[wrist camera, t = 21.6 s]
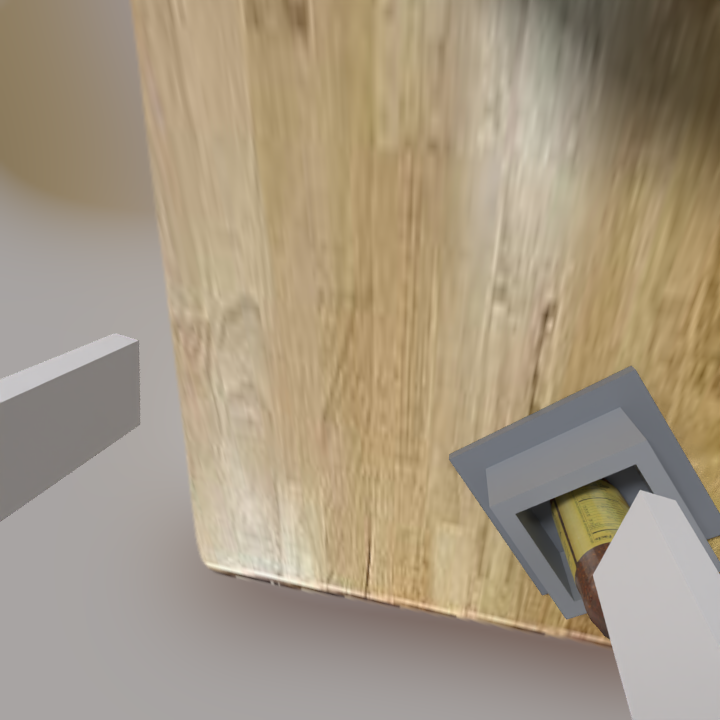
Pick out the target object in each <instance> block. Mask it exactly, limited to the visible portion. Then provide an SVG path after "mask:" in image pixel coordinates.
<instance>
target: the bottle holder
mask: <svg viewBox="0 0 720 720" xmlns="http://www.w3.org/2000/svg"><path fill="white" fill-rule="evenodd" d="M449 460H450V462H451V463H452V464H453V466H454V467H455V469H456V470H457V472H458V473H459V475H460V476H461V478H462V479H463V480H464V482H465V483H466V485H467V486H468V488H469V489H470V491H471V492H472V494H473V495H474V496H475V498H476V499H477V501H478V502H479V504H480V505H481V507H482V508H483V510H484V511H485V512H486V514H487V515H488V517H489V518H490V520H491V521H492V523H493V524H494V526H495V527H496V529H497V530H498V531H499V533H500V534H501V536H502V537H503V539H504V540H505V542H506V543H507V545H508V546H509V547H510V549H511V550H512V552H513V553H514V555H515V556H516V558H517V559H518V561H519V562H520V563H521V565H522V566H523V568H524V569H525V571H526V572H527V574H528V575H529V577H530V578H531V579H532V581H533V582H534V584H535V585H536V587H537V588H538V590H539V591H540V593H541V594H542V595H545V594H548V593H549V595H550V596H551V598H552V599H553V601H554V602H555V604H556V605H557V607H558V608H559V609H560V611H561V612H562V614H563V615H564V617H565V618H566V619H570V618H573V617H576V616H579V615H582V614H586V613H587V611H586V609H585V606H584V603H583V600H582V597H581V594H580V593H579V591H578V589H577V587H576V584H575V581H574V578H573V576H572V573H571V570H570V567H569V564H568V561H567V558H566V555H565V552H564V549H563V546H562V543H561V541H560V538H559V535H558V532H557V529H556V526H555V523H554V520H553V517H552V511H551V504H550V499H553V498H555V497H558V496H560V495H562V494H565V493H567V492H570V491H572V490H575V489H577V488H579V487H582V486H584V485H587V484H589V483H592V482H594V481H596V480H599V479H601V478H605V479H606V480H608V481H609V482H610V483H611V484H612V485H613V486H614V487H615V488H617V489H618V490H619V492H620V493H621V494H622V496H623V497H624V499H625V501H626V502H627V504H628V505H629V507H631V505H632V503H633V501H634V500H635V498H636V496H637V494H638V492H639V491H640V490H642V491H646V492H649V493H652V494H656V495H659V496H662V497H666V498H669V499H672V500H676V502H677V504H678V505H679V507H680V509H681V510H682V512H683V514H684V515H685V517H686V519H687V520H688V522H689V524H690V525H691V527H692V529H693V530H694V532H695V534H696V535H697V537H698V539H699V540H700V542H701V544H702V545H703V547H704V549H705V550H706V552H707V554H708V556H709V557H710V559H711V561H712V562H713V564H714V566H715V567H716V569H717V571H718V572H720V562H719V560H718V558H717V557H716V555H715V553H714V552H713V550H712V548H711V547H710V545H709V543H708V541H707V539H710V538H713V537H716V536H719V535H720V513H719V512H718V510H717V508H716V506H715V505H714V503H713V501H712V500H711V498H710V496H709V494H708V493H707V491H706V489H705V488H704V486H703V484H702V483H701V481H700V479H699V477H698V476H697V474H696V472H695V471H694V469H693V467H692V465H691V464H690V462H689V460H688V459H687V457H686V455H685V453H684V452H683V450H682V448H681V447H680V445H679V443H678V442H677V440H676V438H675V436H674V435H673V433H672V431H671V430H670V428H669V426H668V424H667V423H666V421H665V419H664V418H663V416H662V414H661V412H660V411H659V409H658V407H657V406H656V404H655V402H654V400H653V399H652V397H651V395H650V394H649V392H648V390H647V389H646V387H645V385H644V383H643V382H642V380H641V378H640V377H639V375H638V373H637V371H636V370H635V369H634V368H633V367H632V366H630V367H628V368H626V369H624V370H621V371H619V372H617V373H615V374H613V375H611V376H609V377H607V378H605V379H603V380H601V381H599V382H597V383H595V384H593V385H591V386H589V387H587V388H585V389H582V390H580V391H578V392H576V393H574V394H572V395H570V396H568V397H566V398H564V399H562V400H560V401H558V402H556V403H554V404H552V405H550V406H548V407H546V408H543V409H541V410H539V411H537V412H535V413H533V414H531V415H529V416H527V417H525V418H523V419H521V420H519V421H517V422H515V423H513V424H511V425H509V426H507V427H505V428H502V429H500V430H498V431H496V432H494V433H492V434H490V435H488V436H486V437H484V438H482V439H480V440H478V441H476V442H474V443H472V444H470V445H468V446H466V447H463V448H461V449H459V450H457V451H455V452H453V453H451V454H449Z"/></svg>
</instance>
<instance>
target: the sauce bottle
mask: <svg viewBox="0 0 720 720" xmlns="http://www.w3.org/2000/svg"><path fill="white" fill-rule="evenodd" d="M550 504H551V511H552V517H553V520H554V523H555V526H556V529H557V532H558V535H559V538H560V541H561V543H562V546H563V549H564V552H565V555H566V558H567V561H568V564H569V567H570V570H571V573H572V576H573V578H574V581H575V584H576V587H577V589H578V591H579V593H580V594H581V597H582V600H583V603H584V606H585V609H586V611H587V613H588V615H589V617H590V619H591V621H592V622H593V623H594V624H595V625H596V626H597V627H598V628H599V629H600V631H601V632H602V633H603V635H604V636H606V637H607V638H609V639H610V637H609V633H608V629H607V626H606V622H605V618H604V615H603V611H602V607H601V604H600V600H599V596H598V592H597V589H596V585H595V581H594V578H593V574H594V572H595V570H596V568H597V567H598V565H599V563H600V561H601V559H602V558H603V556H604V554H605V552H606V550H607V548H608V547H609V545H610V543H611V541H612V539H613V538H614V536H615V534H616V532H617V530H618V529H619V527H620V525H621V523H622V521H623V520H624V518H625V516H626V514H627V512H628V511H629V509H630V507H629V505H628V504H627V502H626V501H625V499H624V497H623V496H622V494H621V493H620V492H619V490H618V489H617V488H615V487H614V486H613V485H612V484H611V483H610V482H609V481H608V480H606V479H605V478H601V479H599V480H596V481H594V482H592V483H589V484H587V485H584V486H582V487H579V488H577V489H575V490H572V491H570V492H567V493H565V494H562V495H560V496H558V497H555V498H553V499H550Z"/></svg>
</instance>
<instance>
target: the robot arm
mask: <svg viewBox="0 0 720 720" xmlns="http://www.w3.org/2000/svg"><path fill="white" fill-rule="evenodd" d="M139 378H140V377H139V340H136V339H133V338H130V337H126V336H123V335H119V334H116V333H114V334H112V335H109V336H107V337H104V338H102V339H99V340H97V341H94V342H92V343H89V344H87V345H85V346H82V347H79V348H77V349H74V350H72V351H69V352H67V353H65V354H62V355H59V356H58V357H54V358H52V359H50V360H47V361H45V362H42V363H40V364H37V365H35V366H32V367H30V368H27V369H25V370H23V371H20V372H17V373H15V374H12V375H10V376H7V377H5V378H3V379H0V521H2V520H3V519H5V518H6V517H8V516H9V515H11V514H12V513H13V512H15V511H16V510H18V509H19V508H21V507H22V506H24V505H25V504H26V503H28V502H29V501H31V500H32V499H34V498H35V497H37V496H38V495H39V494H41V493H42V492H43V491H45V490H46V489H48V488H49V487H51V486H52V485H54V484H55V483H57V482H58V481H59V480H61V479H62V478H64V477H65V476H66V475H68V474H70V473H71V472H72V471H74V470H75V469H77V468H78V467H80V466H81V465H83V464H84V463H85V462H87V461H88V460H89V459H91V458H93V457H94V456H96V455H97V454H98V453H100V452H101V451H102V450H104V449H106V448H107V447H108V446H110V445H111V444H113V443H114V442H116V441H117V440H118V439H120V438H121V437H123V436H124V435H126V434H127V433H128V432H130V431H131V430H133V429H134V428H135V427H137V426H139V425H140V379H139ZM593 578H594V581H595V585H596V589H597V592H598V596H599V600H600V604H601V607H602V611H603V615H604V618H605V622H606V626H607V629H608V633H609V637H610V640H611V644H612V648H613V651H614V655H615V659H616V662H617V666H618V670H619V674H620V677H621V680H622V684H623V688H624V692H625V696H626V699H627V703H628V707H629V710H630V714H631V718H632V720H720V574H719V572H718V571H717V569H716V567H715V566H714V564H713V562H712V561H711V559H710V557H709V556H708V554H707V552H706V550H705V549H704V547H703V545H702V544H701V542H700V540H699V539H698V537H697V535H696V534H695V532H694V530H693V529H692V527H691V525H690V524H689V522H688V520H687V519H686V517H685V515H684V514H683V512H682V510H681V509H680V507H679V505H678V504H677V502H676V500H672V499H669V498H666V497H662V496H659V495H656V494H652V493H649V492H646V491H642V490H640V491H639V492H638V494H637V496H636V498H635V500H634V501H633V503H632V505H631V507H630V509H629V511H628V512H627V514H626V516H625V518H624V520H623V521H622V523H621V525H620V527H619V529H618V530H617V532H616V534H615V536H614V538H613V539H612V541H611V543H610V545H609V547H608V548H607V550H606V552H605V554H604V556H603V558H602V559H601V561H600V563H599V565H598V567H597V568H596V570H595V572H594V574H593Z"/></svg>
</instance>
